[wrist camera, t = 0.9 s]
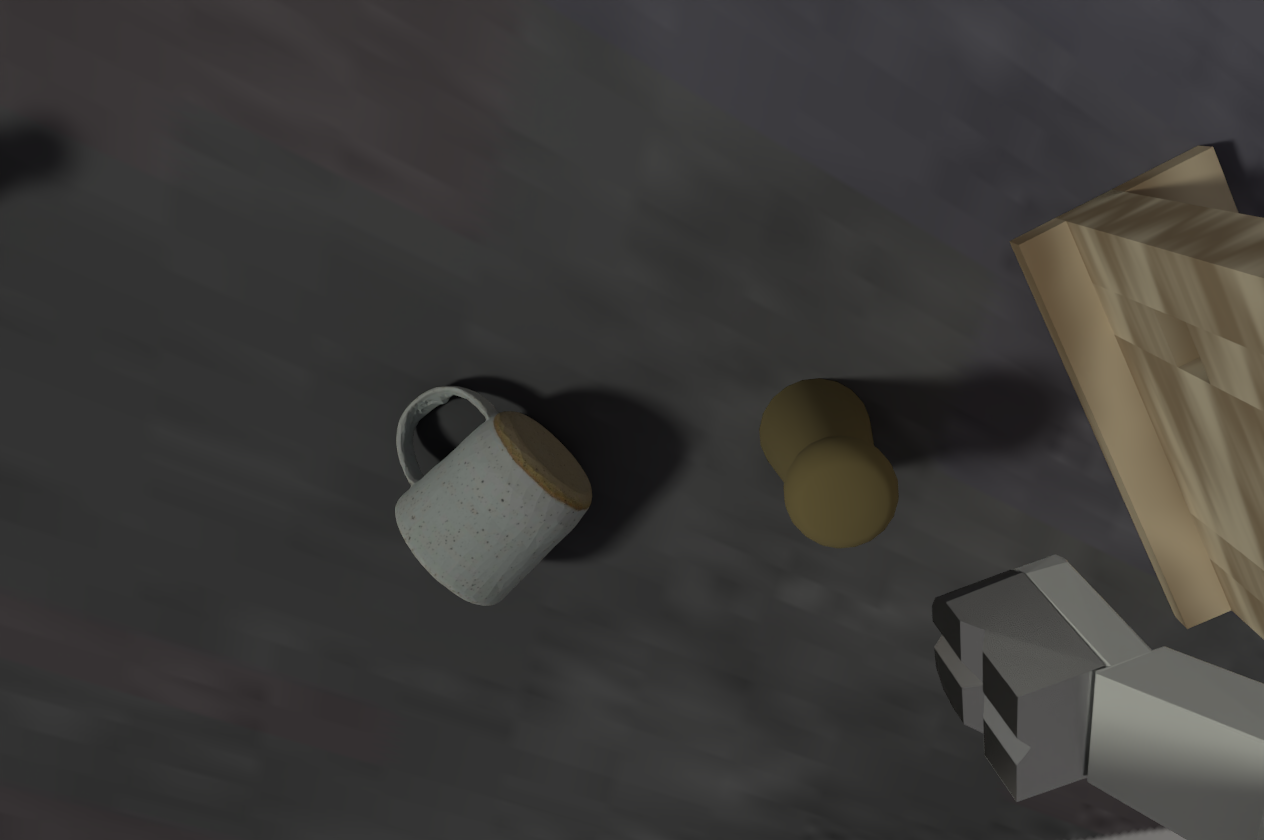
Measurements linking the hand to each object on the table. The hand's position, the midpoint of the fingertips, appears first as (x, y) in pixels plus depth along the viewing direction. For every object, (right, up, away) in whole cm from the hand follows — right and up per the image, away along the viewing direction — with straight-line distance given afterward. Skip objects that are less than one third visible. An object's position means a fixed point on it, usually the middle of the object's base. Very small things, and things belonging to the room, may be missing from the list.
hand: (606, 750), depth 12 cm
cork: (+10, +3, +45) cm, 47 cm away
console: (+30, +5, +44) cm, 53 cm away
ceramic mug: (-8, +1, +47) cm, 47 cm away
